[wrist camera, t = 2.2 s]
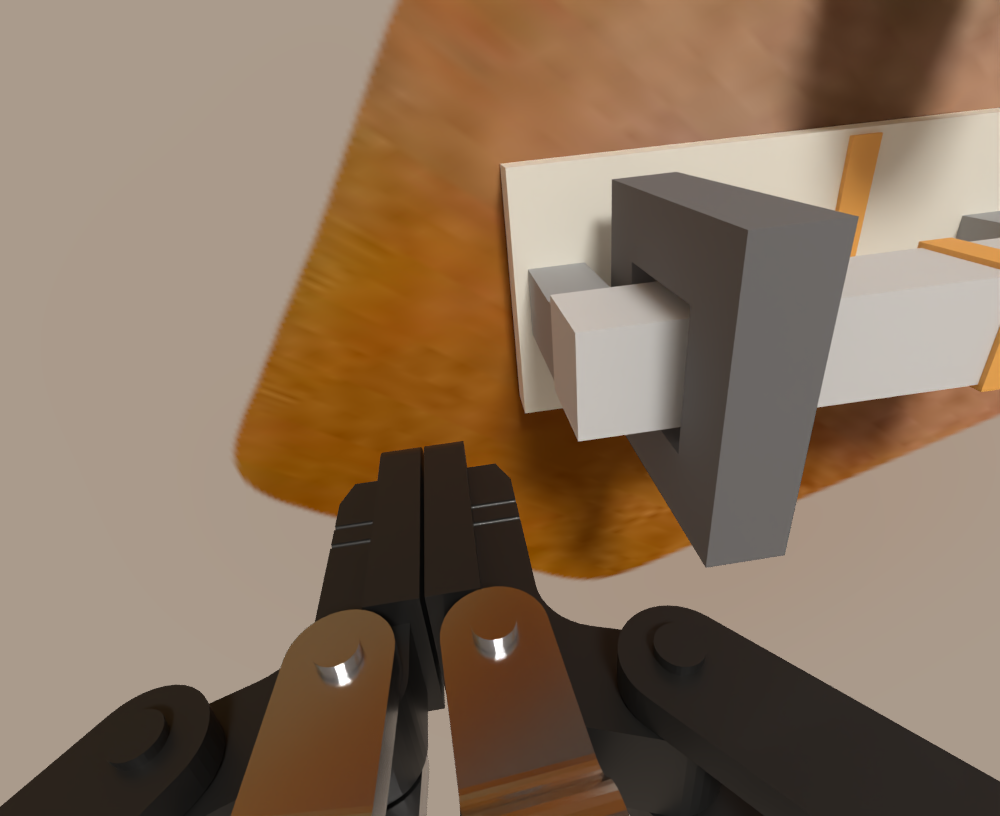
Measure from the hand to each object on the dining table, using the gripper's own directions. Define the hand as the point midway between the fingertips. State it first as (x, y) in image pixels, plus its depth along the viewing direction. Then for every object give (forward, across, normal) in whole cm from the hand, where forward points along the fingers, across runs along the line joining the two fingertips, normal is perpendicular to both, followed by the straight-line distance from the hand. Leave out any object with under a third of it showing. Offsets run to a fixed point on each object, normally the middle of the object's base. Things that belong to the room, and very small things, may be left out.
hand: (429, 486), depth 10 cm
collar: (+9, -7, 0) cm, 11 cm away
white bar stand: (+12, -13, 0) cm, 17 cm away
